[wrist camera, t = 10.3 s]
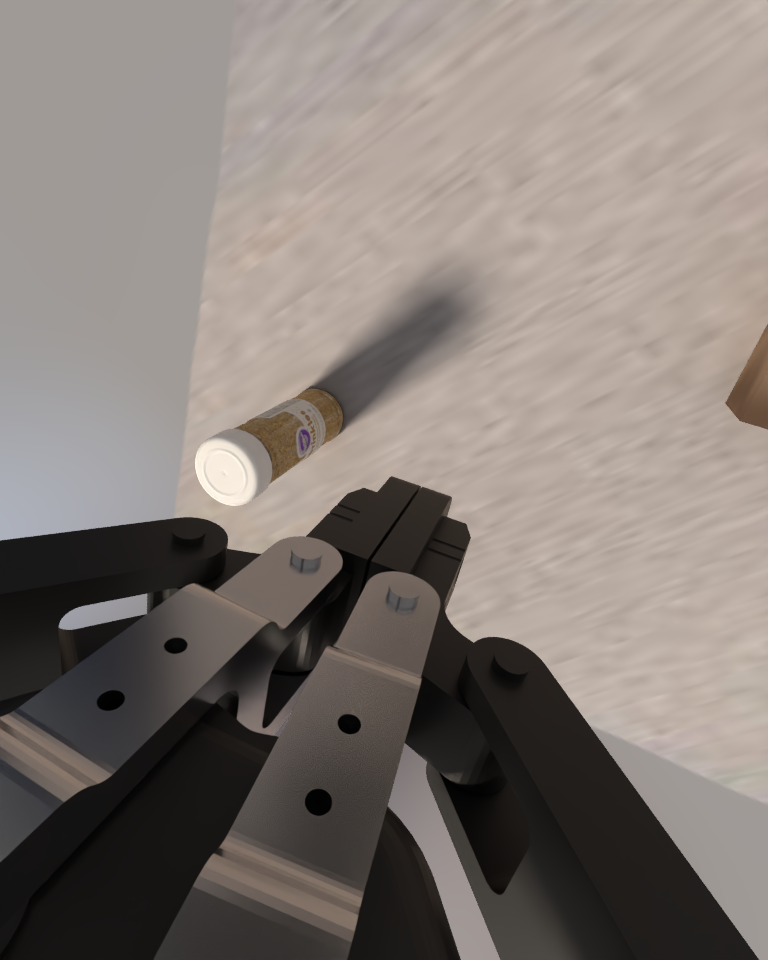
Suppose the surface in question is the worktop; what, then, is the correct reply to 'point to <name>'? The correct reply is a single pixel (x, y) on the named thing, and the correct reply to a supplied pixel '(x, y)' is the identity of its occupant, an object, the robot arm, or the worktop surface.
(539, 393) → the worktop surface
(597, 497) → the worktop surface
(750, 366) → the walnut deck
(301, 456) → the sprinkles bottle
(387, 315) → the worktop surface
